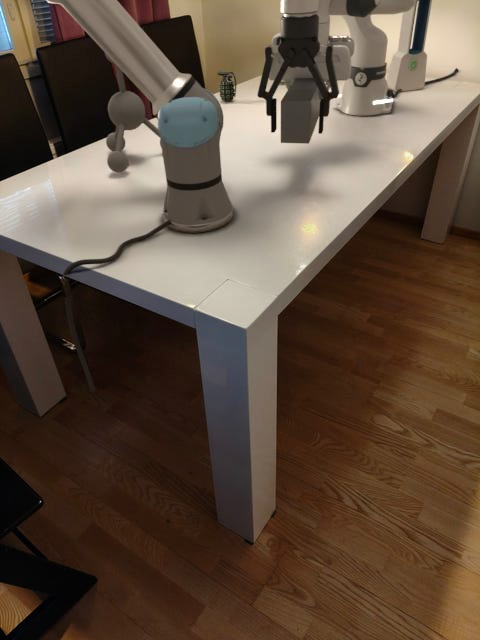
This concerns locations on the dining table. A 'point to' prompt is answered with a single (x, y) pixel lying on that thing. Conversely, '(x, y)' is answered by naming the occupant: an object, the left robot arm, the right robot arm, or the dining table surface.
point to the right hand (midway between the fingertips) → (307, 99)
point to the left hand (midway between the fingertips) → (297, 131)
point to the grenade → (227, 86)
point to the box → (300, 111)
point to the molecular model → (124, 122)
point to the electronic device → (411, 50)
